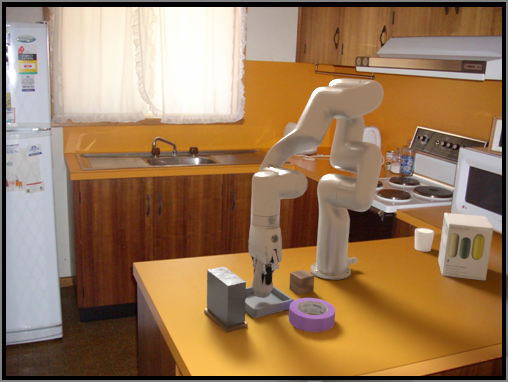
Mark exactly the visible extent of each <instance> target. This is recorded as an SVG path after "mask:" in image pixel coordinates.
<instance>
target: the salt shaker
mask: <svg viewBox="0 0 508 382" xmlns="http://www.w3.org/2000/svg"><path fill="white" fill-rule="evenodd" d="M256 258H257V259H259V258H258V256H257V255H256ZM269 266H270V265H267V268H268V267H269ZM254 269H255V272H254V271H253V276H252V283H251V287H252V289H253V292H254V294H255V295H256V296H257V297H260V298H265V297H268V296H269V295H270V293H271V291H272V289H273V286H274V283H273V281H272V282H271V284H270V285H266V284H265V277H264V281H263V284H262V279H261V274H262V273H263V263H262V262H261V261H259V260H257V263H256V268H254Z"/></svg>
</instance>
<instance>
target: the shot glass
mask: <svg viewBox="0 0 508 382" xmlns="http://www.w3.org/2000/svg"><path fill="white" fill-rule="evenodd" d="M435 233H436V232H435V230H433V229H430V228H427V227H417V228H416V227H415V228H414V249H415V250H416V251H419V252H423V253H424V252H425V253H426V252H430V251H431V250H432V245H433V242H434V238H435Z"/></svg>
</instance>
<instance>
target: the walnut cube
mask: <svg viewBox="0 0 508 382" xmlns="http://www.w3.org/2000/svg"><path fill="white" fill-rule="evenodd" d="M314 286H315V275H314V274H313V273H312V272H309V271H307V270H306V269H301V270H296V271H291V272H289V289H290V290H291V291H293V292H294V293H296V294H297V295H299V296H300V295H304V294H308V293H312V292H314V289H315V287H314Z"/></svg>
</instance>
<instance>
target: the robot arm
mask: <svg viewBox="0 0 508 382" xmlns="http://www.w3.org/2000/svg"><path fill="white" fill-rule="evenodd" d="M384 91H385V90H384V87H383V85H382V84H381V83H380V82H378V81H377V80H374V79H361V78H347V77H346V78H336V79H335V78H334V79H333V80H332V81H330V82H329V84H328V85H327V86H320V87H317V88H316V89H315V90H313V92H312V93H311V95H310V96H309V98H308V101H307V103H306V105H305V107H304V109H303V110H302V114H301V115H300V117H299V119H298V121H297V123H296V125H295V127H294V128H293V130H292V131H291V132H289V133H288V134H287V135H285V136H284V137H282V138H281V139H280V140H279V141H277V142H276V143H275V144H274V145H273V146H271V148H270V149H269V150H268V151H267V152H266V154H265V156H264V159H263V160H262V162H261V164H260V166H259V169H258V172H255V173H254V174H253V175H252V178H251V200H250V201H251V202H250V203H251V204H250V205H251V206H250V227H249V235H248V254H249V256H250V258H251V261H252V267H253V273H254V272H255V268H256V263H257V260H259V261H261V262H262V263H263V273H262V274H261V279H262V284H263V281H264V277H265V284H266V285H270V284H271V282H273V273H275V271H276V270H279V269H280V264H279V263H281V262H282V261H283V259H282V258H283V242H282V241H283V239H282V231H281V227H280V219H281V215H280V213H281V211H280V210H281V200H283V199H285V200H286V199H297V198H300V197H301V196H303V195H304V194H305V192H306V191H307V189H308V186H309V185H308V183H309V182H308V178H307V176H306V175H305V174H304V173H303V172H302V171H299V170H296V169H291V168H288V167H285V166H284V164H285V163H286V162H287V161H288V160H289V159H290V158H292V157H293V156H295V155H297V154H299V153H302V152H306V151H309V150H312V149H314V148H317V147H320V146H321V145H322V143H323V141H324V140H325V137H326V135H327V133H328V132H329V129H330V127H331V125H332V123H333V121H334V119H336V126H335V129H334V134H333V139H332V143H331V148H330V153H329V163H330V165H331V167H333V168H334V169H337V170H339V171H344V172H349V173H352V174H353V173H354V174H356V175H357V176H356V177H353V176H350V175H344V174H339V173H327V174H324V175H323V176H322V177H321V178H319V180H318V183H317V187H316V191H317V192H316V193H317V198H318V199H317V201H318V227H317V241H316V256H315V258H316V259H315V263H313V264H311V266H310V273H311V274H313V275H314V276H316V277H318V278H321V279H324V280H335V281H338V280H344V279H347V278H348V277H350V276H351V274H352V269H351V268H350V267H349V266H351V264H357V263H358V261H359V259H358V258H357V257H356V256H353V257H349V255H348V248H349V238H350V237H349V234H350V225H351V224H350V223H351V222H350V221H351V219H350V214H349V211H350V210H351V211H355V212H360V213H363V212H366V211H368V210H369V209H370V208H371V206H373V205H372V204H373V202H374V200H375V196H376V191H377V188H378V184H379V179H380V176H381V170H382V165H383V154H382V152H383V151H382V150H381V148H380V146H378V145H377V144H375V143H373V142H367V141H363V139H364V133H365V129H366V127H365V126H366V124H365V119H364V116H365V115H367V114H369V113H370V114H371V113H372V112H373V111H376V110H377V109H378V108H379V107H380V106H381V104H382V102H383V100H384V95H385V92H384ZM283 166H284V167H283ZM348 210H349V211H348ZM256 255H257V256H258V258H259V259H257V258H256ZM267 265H270V266H269V267H268V268H267Z"/></svg>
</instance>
